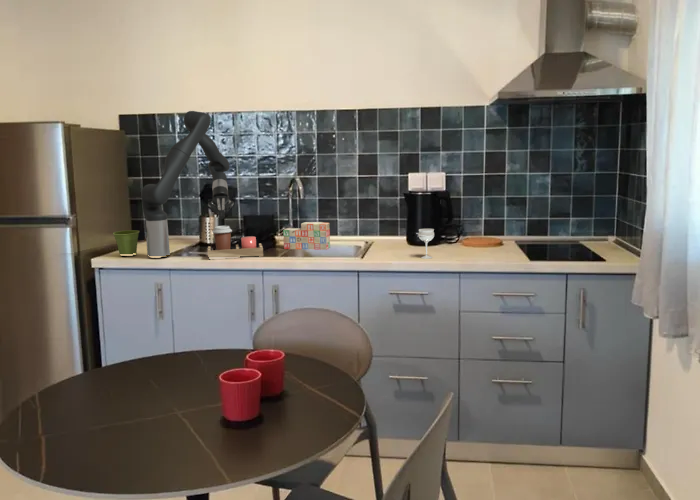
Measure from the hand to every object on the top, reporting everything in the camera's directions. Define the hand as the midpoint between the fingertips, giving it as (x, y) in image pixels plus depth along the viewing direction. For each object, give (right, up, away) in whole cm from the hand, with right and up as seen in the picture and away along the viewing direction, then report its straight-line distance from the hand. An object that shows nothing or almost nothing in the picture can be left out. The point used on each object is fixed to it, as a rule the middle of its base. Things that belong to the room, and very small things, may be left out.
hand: (221, 217), depth 318 cm
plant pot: (-41, -19, -12) cm, 47 cm away
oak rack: (+10, -18, -20) cm, 29 cm away
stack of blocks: (+41, -15, -5) cm, 44 cm away
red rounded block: (+16, -18, -18) cm, 30 cm away
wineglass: (+94, -19, -38) cm, 103 cm away
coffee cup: (+3, -17, -9) cm, 19 cm away
